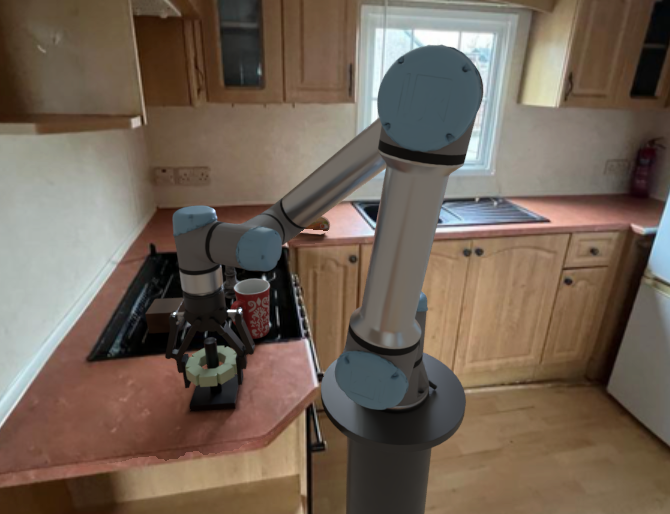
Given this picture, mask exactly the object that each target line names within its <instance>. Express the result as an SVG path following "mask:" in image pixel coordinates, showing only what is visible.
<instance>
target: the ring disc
mask: <svg viewBox="0 0 670 514" xmlns="http://www.w3.org/2000/svg"><path fill="white" fill-rule="evenodd" d="M217 351H218V359H219V363H222V364H221V365H220V364H219V367H217V368H215V369H207V368H203V367H205V366H207V362H206V355H205V348H204V347H203V348H201V349H200V350H198V351H196V352H194V353H192V354H191V356H189V359H188V361H187V364H186V366H185V369H186V375H187V379H188V380H189V381H191V383H192V384H193V385H195V387H196V386H198V385H199V384H200V387H208V386H217V385H218V383H220V384H221V385H222V384H223V383H225V382H226V381H228V380H230V379H231V378H233V377H234V376H235V374H237V366H236V355H237V353H236V352H235V351H234V350H233V348H232V347H229V346H226V347H225V345H217Z"/></svg>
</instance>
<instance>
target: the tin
mask: <svg viewBox="0 0 670 514" xmlns="http://www.w3.org/2000/svg"><path fill="white" fill-rule="evenodd" d="M305 229H313V230H323V231H328V230H329V231H330V229H331V223H330V220H329V218H327V217H326V216H324V215H322V216H321V217H320V218H318V219H317V220H316V221H314V222H313V223H312V224H310V225H309V226H308V227H306V228H305ZM329 231H328V232H329Z"/></svg>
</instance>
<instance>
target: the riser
mask: <svg viewBox="0 0 670 514" xmlns="http://www.w3.org/2000/svg"><path fill="white" fill-rule="evenodd" d="M174 310H177V311H178V312H185V306H184V299H183V297H173V298H172V297H167V298H166V297H165V298H154V300H153V301H152V303H151V304H150V306H149V307H148V309H147V311H146V312H145V314H144V315H145V320H146V326H147V330H148V334H165V333H170V323H169V317H170V315H171V313H172V312H173V311H174ZM185 321H186V320H185V319H183V320H182V322H181V323H180V325H179V330H178V333H180V332H181V330H182V329H183V326H184V324H185Z"/></svg>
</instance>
